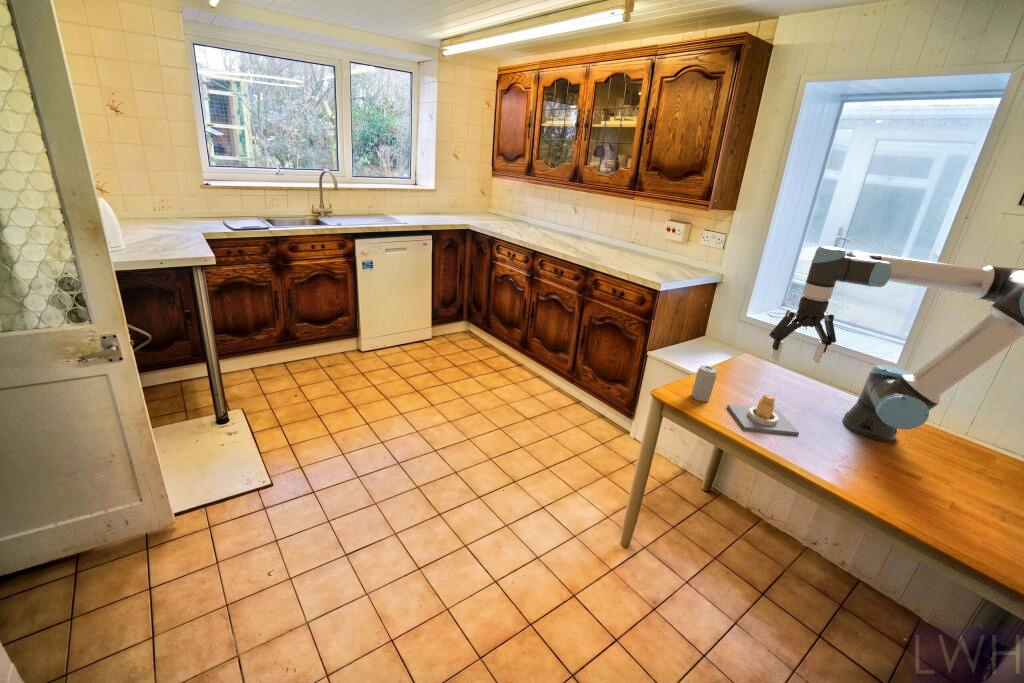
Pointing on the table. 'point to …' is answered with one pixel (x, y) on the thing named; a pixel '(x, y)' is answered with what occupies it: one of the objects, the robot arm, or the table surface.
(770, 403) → the nesting doll
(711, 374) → the beverage can
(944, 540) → the table surface
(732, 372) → the table surface
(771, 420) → the collar board
